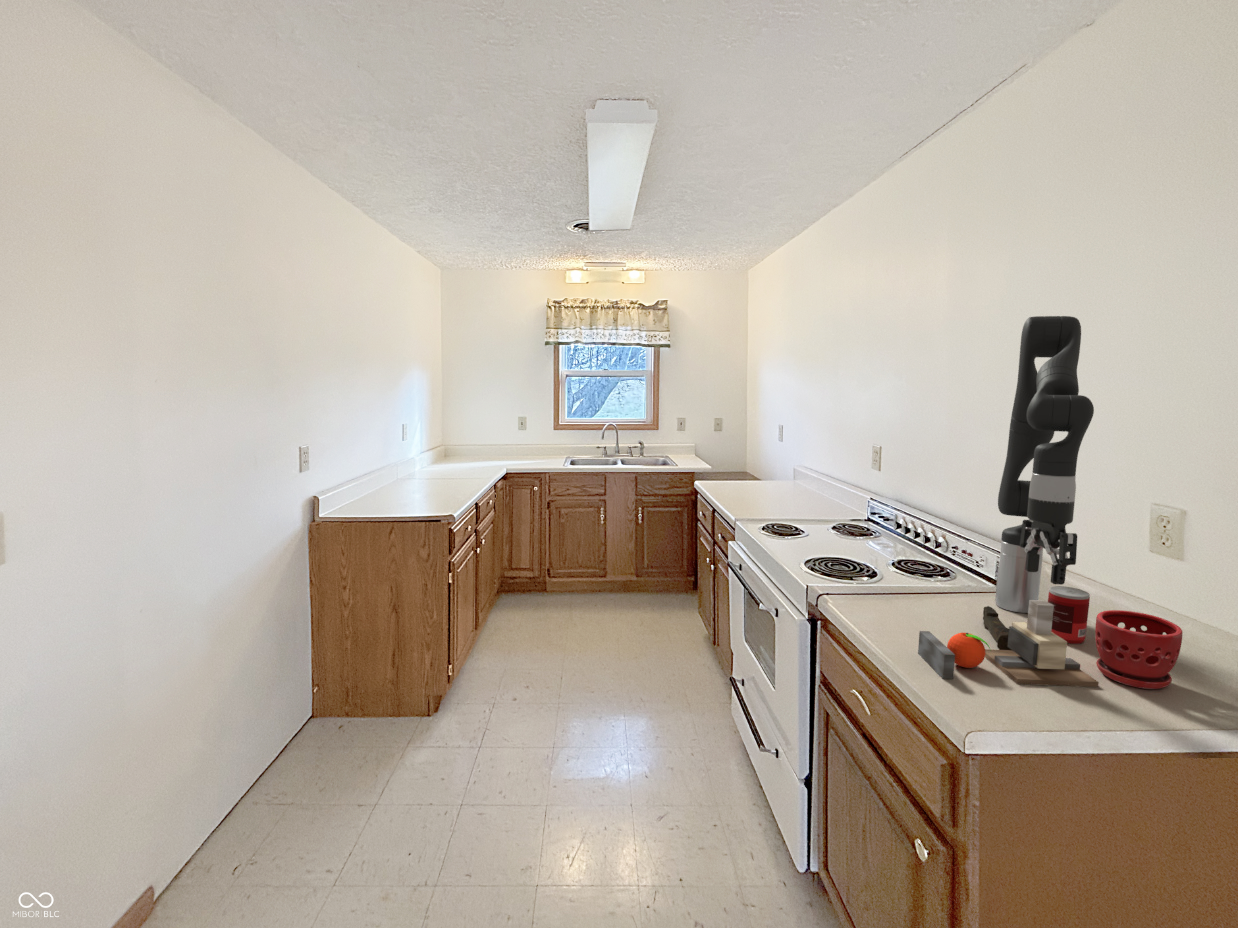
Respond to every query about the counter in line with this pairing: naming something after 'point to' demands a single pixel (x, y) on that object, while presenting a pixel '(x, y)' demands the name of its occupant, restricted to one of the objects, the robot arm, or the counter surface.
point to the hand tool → (996, 628)
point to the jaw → (1038, 638)
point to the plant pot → (1137, 648)
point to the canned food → (1069, 613)
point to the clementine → (967, 649)
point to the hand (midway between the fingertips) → (1043, 577)
